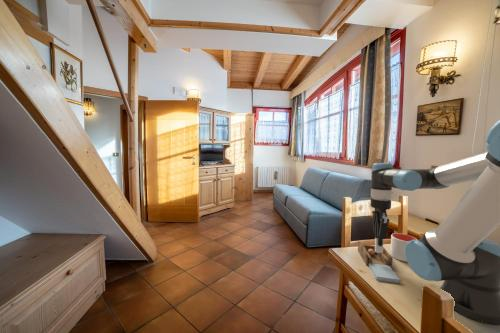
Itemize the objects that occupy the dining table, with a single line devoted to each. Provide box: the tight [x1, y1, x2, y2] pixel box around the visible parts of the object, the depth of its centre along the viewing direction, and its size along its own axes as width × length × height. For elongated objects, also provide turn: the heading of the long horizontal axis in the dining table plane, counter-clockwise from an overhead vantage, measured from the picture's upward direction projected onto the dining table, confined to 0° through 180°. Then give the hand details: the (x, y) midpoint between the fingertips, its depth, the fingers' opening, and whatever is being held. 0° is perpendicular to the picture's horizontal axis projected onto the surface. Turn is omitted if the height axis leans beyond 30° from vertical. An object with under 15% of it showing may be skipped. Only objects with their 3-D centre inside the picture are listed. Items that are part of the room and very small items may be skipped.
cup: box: [389, 232, 418, 263], centre depth 99 cm, size 10×10×10 cm
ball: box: [368, 249, 375, 255], centre depth 101 cm, size 3×3×3 cm
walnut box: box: [357, 241, 394, 269], centre depth 97 cm, size 14×10×5 cm
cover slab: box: [368, 263, 401, 284], centre depth 86 cm, size 10×8×2 cm
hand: (378, 251), depth 92 cm, fingers closed
